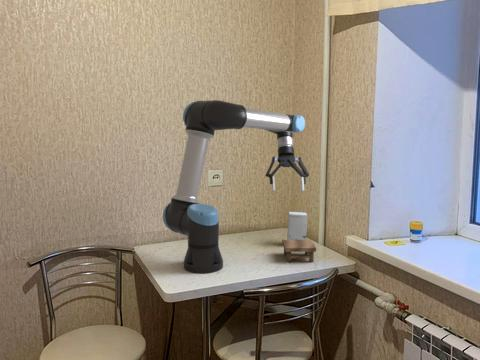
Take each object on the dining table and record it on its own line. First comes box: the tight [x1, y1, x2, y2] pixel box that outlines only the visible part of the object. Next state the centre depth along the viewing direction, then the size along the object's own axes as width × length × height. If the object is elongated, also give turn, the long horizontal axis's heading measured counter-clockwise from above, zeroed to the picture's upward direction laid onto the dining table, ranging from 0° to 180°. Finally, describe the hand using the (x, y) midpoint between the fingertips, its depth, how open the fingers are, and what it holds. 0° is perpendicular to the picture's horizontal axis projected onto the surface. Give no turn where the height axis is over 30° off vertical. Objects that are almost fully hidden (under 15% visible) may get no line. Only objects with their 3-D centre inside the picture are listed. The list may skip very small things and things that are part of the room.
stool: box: [281, 239, 317, 263], centre depth 177 cm, size 12×12×6 cm
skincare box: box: [286, 211, 308, 240], centre depth 194 cm, size 8×6×15 cm
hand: (288, 191), depth 200 cm, fingers open, 13 cm apart
